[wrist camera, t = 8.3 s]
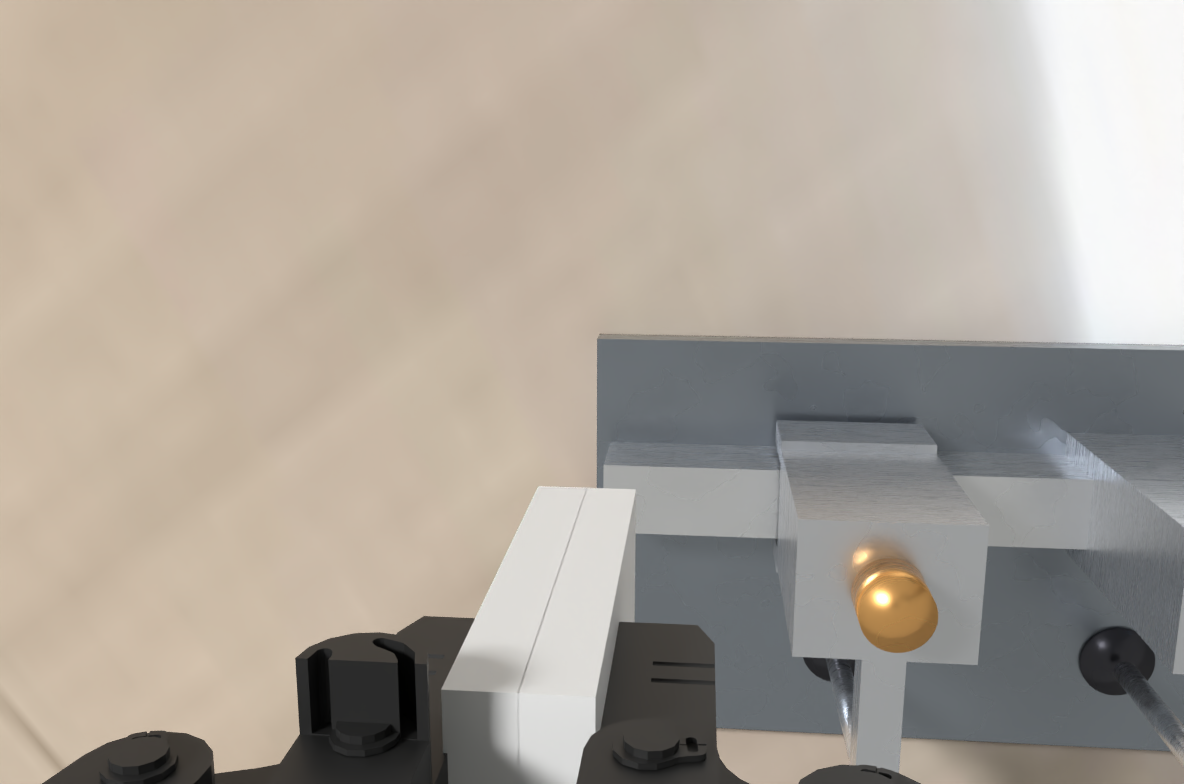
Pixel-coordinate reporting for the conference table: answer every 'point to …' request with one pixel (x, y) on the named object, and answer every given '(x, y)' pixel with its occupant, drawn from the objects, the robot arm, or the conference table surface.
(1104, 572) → the fixed leg
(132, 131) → the conference table surface
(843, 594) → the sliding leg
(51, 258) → the conference table surface
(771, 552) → the flange plate
